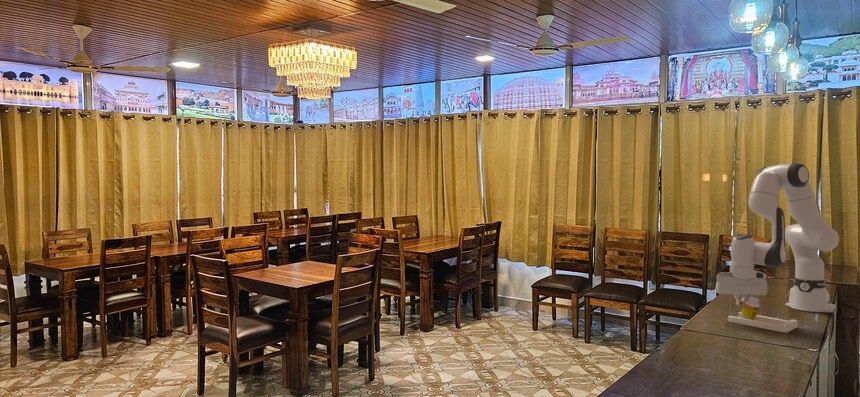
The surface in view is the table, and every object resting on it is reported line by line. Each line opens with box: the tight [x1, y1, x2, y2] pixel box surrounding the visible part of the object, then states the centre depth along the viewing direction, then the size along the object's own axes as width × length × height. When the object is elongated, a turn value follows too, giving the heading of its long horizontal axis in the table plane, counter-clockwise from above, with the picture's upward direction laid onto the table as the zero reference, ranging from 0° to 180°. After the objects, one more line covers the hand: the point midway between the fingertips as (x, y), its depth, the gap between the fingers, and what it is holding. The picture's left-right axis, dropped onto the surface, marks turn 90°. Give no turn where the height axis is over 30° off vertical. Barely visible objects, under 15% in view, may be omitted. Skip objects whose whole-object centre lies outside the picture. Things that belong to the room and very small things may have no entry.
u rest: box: [727, 311, 798, 334], centre depth 233 cm, size 12×22×3 cm, turn 39°
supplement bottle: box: [740, 295, 761, 320], centre depth 236 cm, size 6×6×10 cm
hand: (740, 305), depth 238 cm, fingers closed
